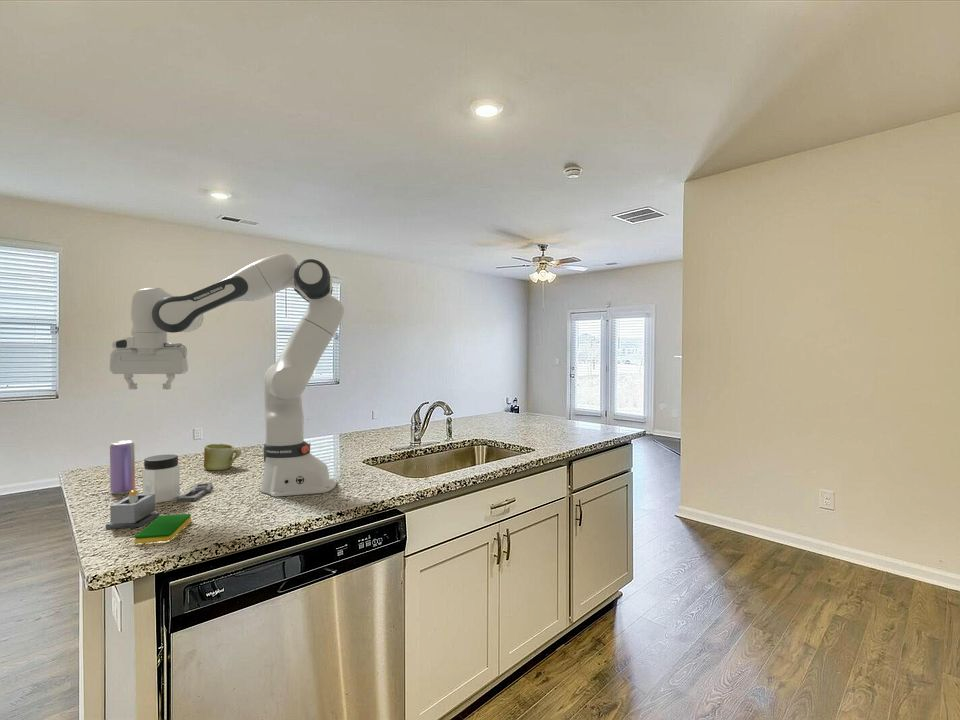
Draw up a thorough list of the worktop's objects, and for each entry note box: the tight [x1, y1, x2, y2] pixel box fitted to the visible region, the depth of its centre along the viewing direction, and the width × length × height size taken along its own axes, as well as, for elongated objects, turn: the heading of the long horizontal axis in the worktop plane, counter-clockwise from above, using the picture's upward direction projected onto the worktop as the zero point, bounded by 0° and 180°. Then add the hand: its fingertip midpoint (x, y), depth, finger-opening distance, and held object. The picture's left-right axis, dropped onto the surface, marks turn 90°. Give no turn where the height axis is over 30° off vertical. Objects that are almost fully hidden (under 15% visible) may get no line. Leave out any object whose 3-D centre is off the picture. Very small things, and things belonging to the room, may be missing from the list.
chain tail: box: [176, 482, 213, 502], centre depth 145 cm, size 7×16×2 cm, turn 7°
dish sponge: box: [134, 513, 192, 544], centre depth 115 cm, size 7×14×2 cm, turn 13°
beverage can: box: [109, 440, 136, 495], centre depth 146 cm, size 6×6×15 cm
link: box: [109, 493, 156, 524], centre depth 121 cm, size 5×9×4 cm, turn 6°
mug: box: [203, 443, 242, 471], centre depth 174 cm, size 12×10×10 cm
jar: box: [142, 453, 181, 504], centre depth 139 cm, size 9×8×12 cm
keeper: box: [105, 490, 160, 529], centre depth 121 cm, size 8×8×8 cm
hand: (149, 389), depth 144 cm, fingers open, 8 cm apart
